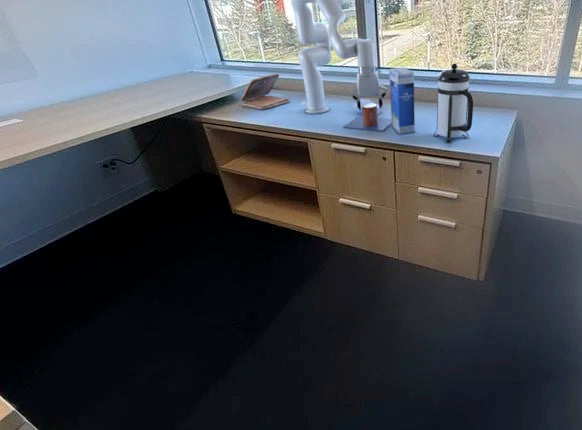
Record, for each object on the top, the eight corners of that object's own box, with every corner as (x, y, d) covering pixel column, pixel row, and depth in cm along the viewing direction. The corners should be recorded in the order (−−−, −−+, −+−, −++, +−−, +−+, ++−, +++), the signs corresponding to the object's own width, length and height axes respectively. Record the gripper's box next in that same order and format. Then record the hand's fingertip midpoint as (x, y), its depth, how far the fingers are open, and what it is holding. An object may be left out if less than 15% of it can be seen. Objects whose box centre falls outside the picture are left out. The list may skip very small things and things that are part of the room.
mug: (362, 122, 184) (361, 103, 180) (376, 121, 185) (375, 102, 180) (364, 129, 176) (363, 109, 171) (379, 127, 177) (378, 108, 172)
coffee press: (429, 141, 160) (430, 67, 144) (438, 129, 172) (440, 59, 157) (469, 146, 154) (475, 68, 138) (477, 133, 167) (483, 60, 151)
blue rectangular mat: (343, 127, 180) (343, 127, 180) (357, 117, 193) (357, 116, 192) (382, 131, 174) (382, 130, 174) (394, 120, 186) (394, 119, 186)
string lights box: (415, 132, 171) (414, 72, 157) (399, 134, 169) (397, 74, 155) (406, 123, 181) (404, 66, 168) (390, 125, 180) (388, 68, 166)
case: (269, 97, 233) (263, 70, 225) (291, 101, 223) (286, 73, 214) (240, 105, 220) (233, 77, 211) (263, 110, 209) (256, 80, 200)
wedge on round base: (353, 113, 199) (373, 116, 193) (352, 100, 195) (372, 103, 189) (363, 108, 205) (383, 111, 199) (362, 96, 202) (382, 98, 196)
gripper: (384, 67, 173) (387, 104, 182) (347, 70, 171) (351, 108, 180) (387, 70, 167) (389, 108, 175) (348, 73, 165) (352, 112, 173)
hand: (370, 108), depth 178 cm, fingers open, 9 cm apart
